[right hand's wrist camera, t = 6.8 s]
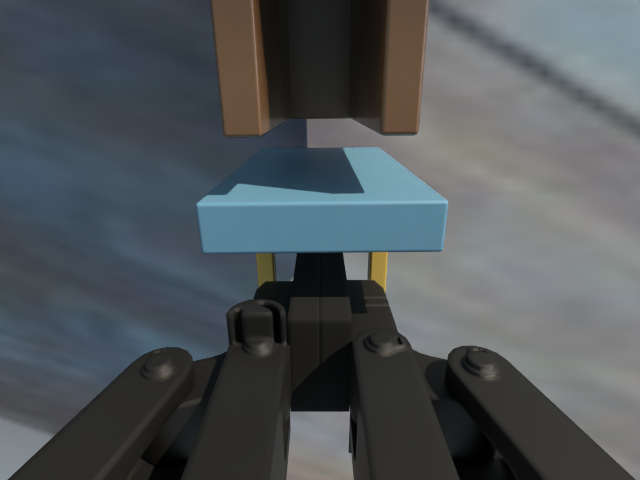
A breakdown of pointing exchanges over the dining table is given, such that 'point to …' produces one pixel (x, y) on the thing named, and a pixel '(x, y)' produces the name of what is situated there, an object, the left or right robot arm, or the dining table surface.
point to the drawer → (320, 103)
